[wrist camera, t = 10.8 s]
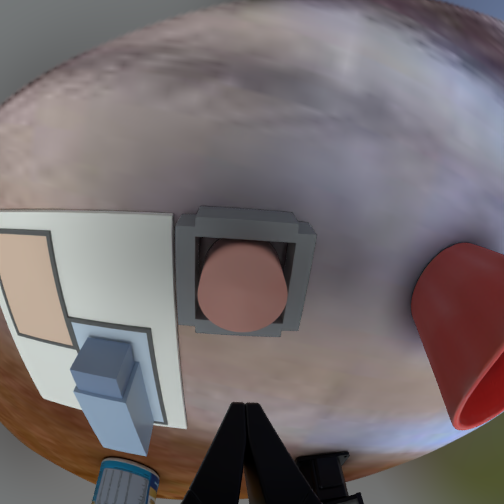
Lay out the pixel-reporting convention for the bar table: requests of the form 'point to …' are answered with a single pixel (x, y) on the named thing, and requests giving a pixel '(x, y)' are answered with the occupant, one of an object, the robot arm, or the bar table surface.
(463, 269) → the flower pot
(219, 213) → the button housing
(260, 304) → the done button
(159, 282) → the white sorting board
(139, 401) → the blue paint stick
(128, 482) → the beverage bottle
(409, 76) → the bar table surface
